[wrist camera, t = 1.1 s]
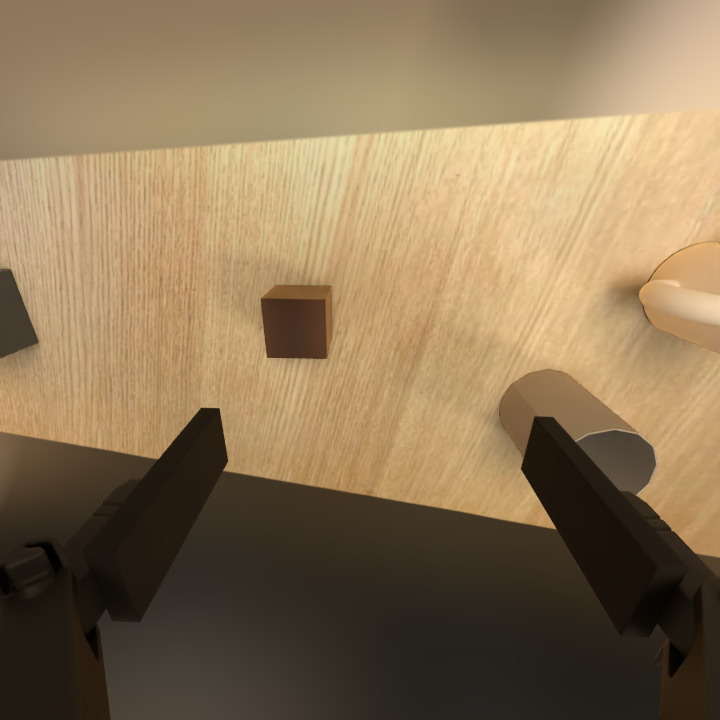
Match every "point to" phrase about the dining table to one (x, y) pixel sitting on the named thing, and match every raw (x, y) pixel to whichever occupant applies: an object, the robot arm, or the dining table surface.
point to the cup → (580, 426)
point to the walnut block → (297, 321)
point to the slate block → (13, 318)
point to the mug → (687, 295)
